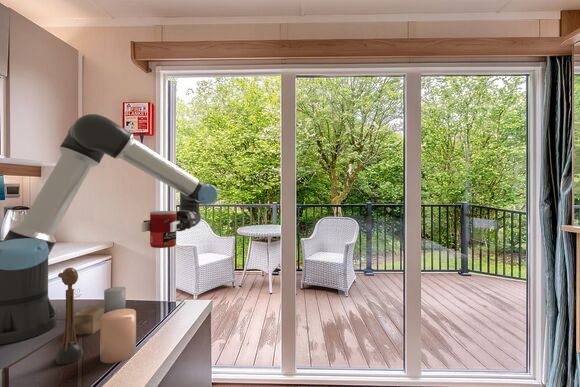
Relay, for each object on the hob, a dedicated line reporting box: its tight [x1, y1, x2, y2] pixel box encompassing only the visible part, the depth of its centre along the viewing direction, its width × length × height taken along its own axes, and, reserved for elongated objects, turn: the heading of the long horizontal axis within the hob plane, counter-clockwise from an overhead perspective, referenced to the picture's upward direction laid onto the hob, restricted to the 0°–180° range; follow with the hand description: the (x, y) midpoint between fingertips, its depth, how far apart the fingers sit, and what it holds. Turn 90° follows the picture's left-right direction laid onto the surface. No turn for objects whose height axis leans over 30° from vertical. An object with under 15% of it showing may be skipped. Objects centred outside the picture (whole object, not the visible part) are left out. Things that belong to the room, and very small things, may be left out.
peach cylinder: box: [99, 308, 137, 364], centre depth 67 cm, size 7×7×9 cm
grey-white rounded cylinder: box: [103, 286, 127, 314], centre depth 90 cm, size 6×6×7 cm
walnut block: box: [74, 306, 104, 335], centre depth 78 cm, size 5×5×5 cm
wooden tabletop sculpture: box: [55, 267, 84, 365], centre depth 65 cm, size 6×5×20 cm
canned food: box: [149, 210, 177, 249], centre depth 94 cm, size 8×8×11 cm
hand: (157, 227), depth 90 cm, fingers closed on canned food, 8 cm apart
